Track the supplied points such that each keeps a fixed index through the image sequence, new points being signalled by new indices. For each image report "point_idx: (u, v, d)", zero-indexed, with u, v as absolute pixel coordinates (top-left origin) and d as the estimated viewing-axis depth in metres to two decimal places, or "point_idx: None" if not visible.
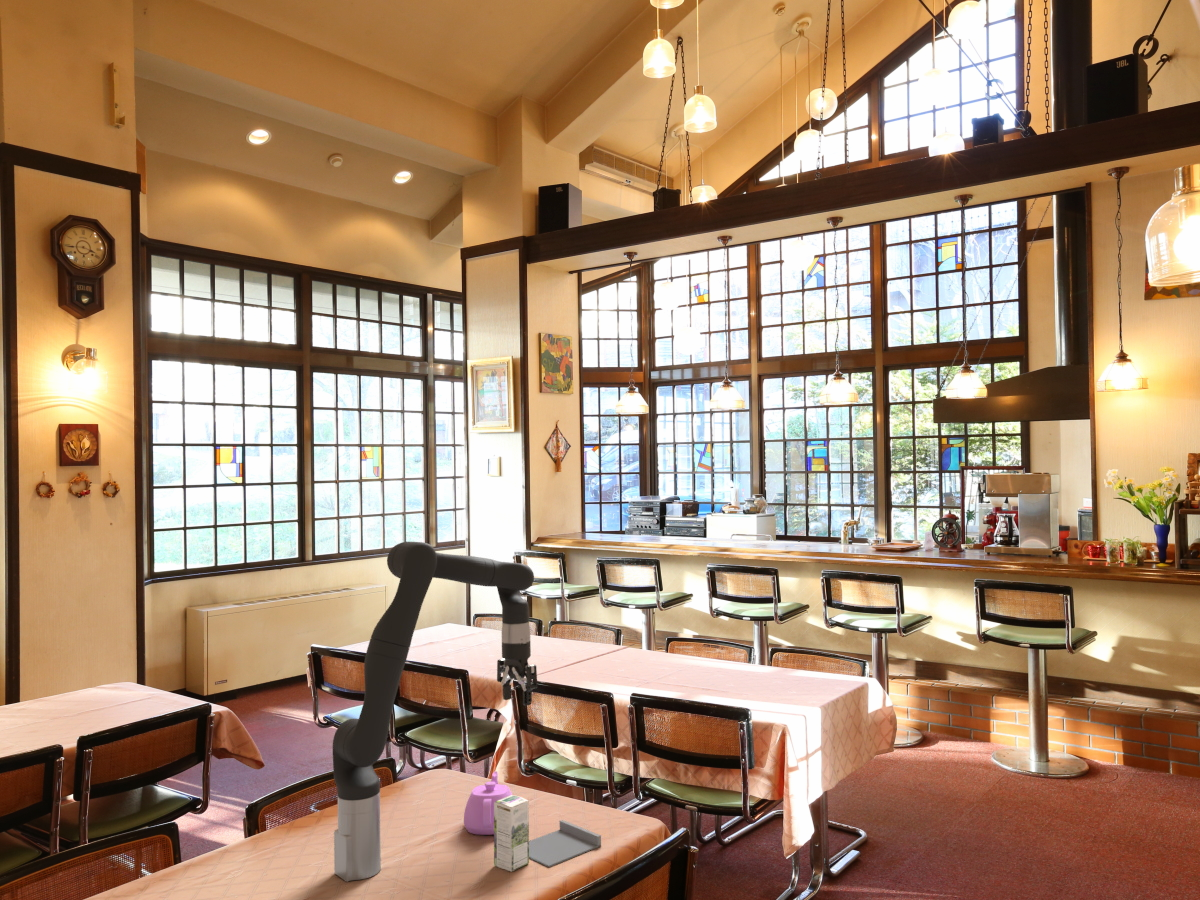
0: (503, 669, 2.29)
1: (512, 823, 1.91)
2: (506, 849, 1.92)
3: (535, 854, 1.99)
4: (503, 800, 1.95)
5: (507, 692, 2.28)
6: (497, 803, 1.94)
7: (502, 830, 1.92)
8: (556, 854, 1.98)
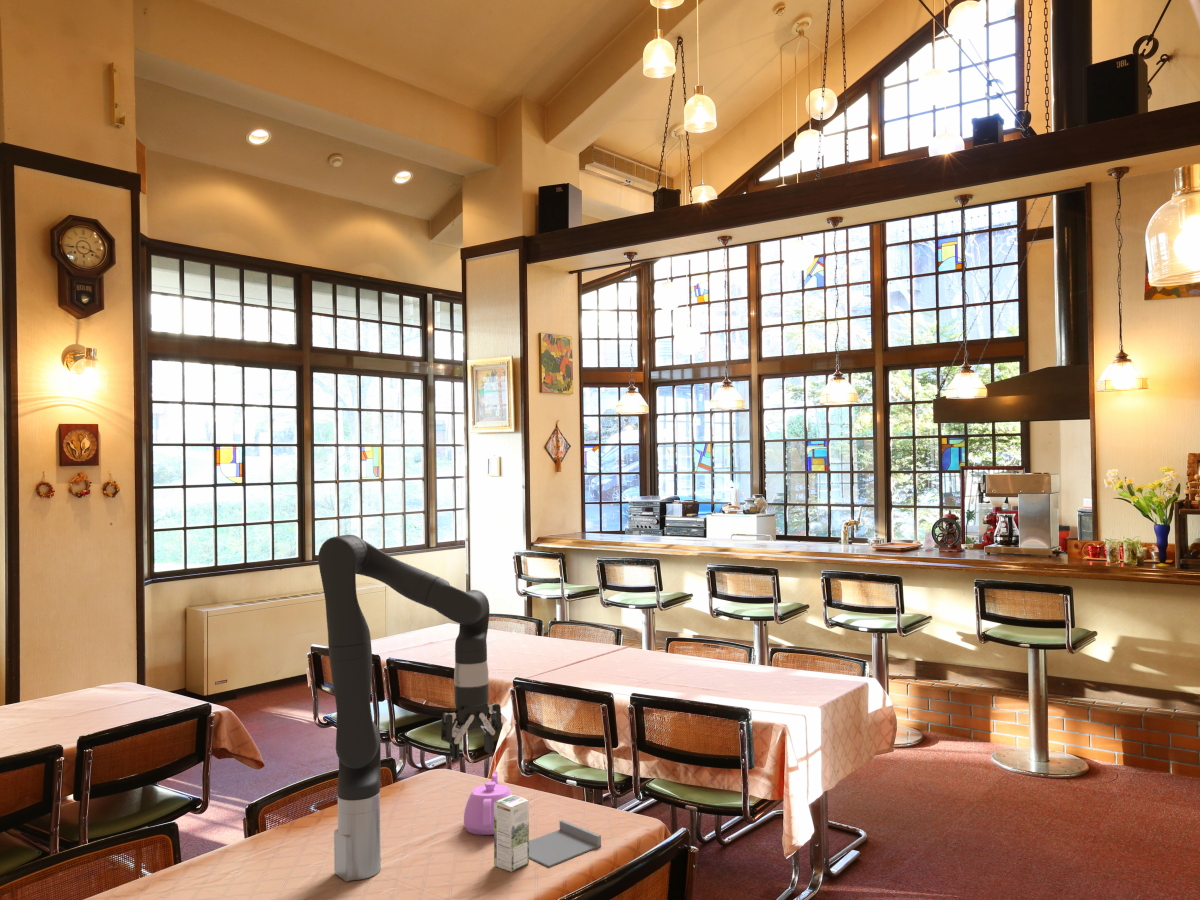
0: None
1: (512, 823, 1.91)
2: (506, 849, 1.92)
3: (535, 854, 1.99)
4: (503, 800, 1.95)
5: None
6: (497, 803, 1.94)
7: (502, 830, 1.92)
8: (556, 854, 1.98)
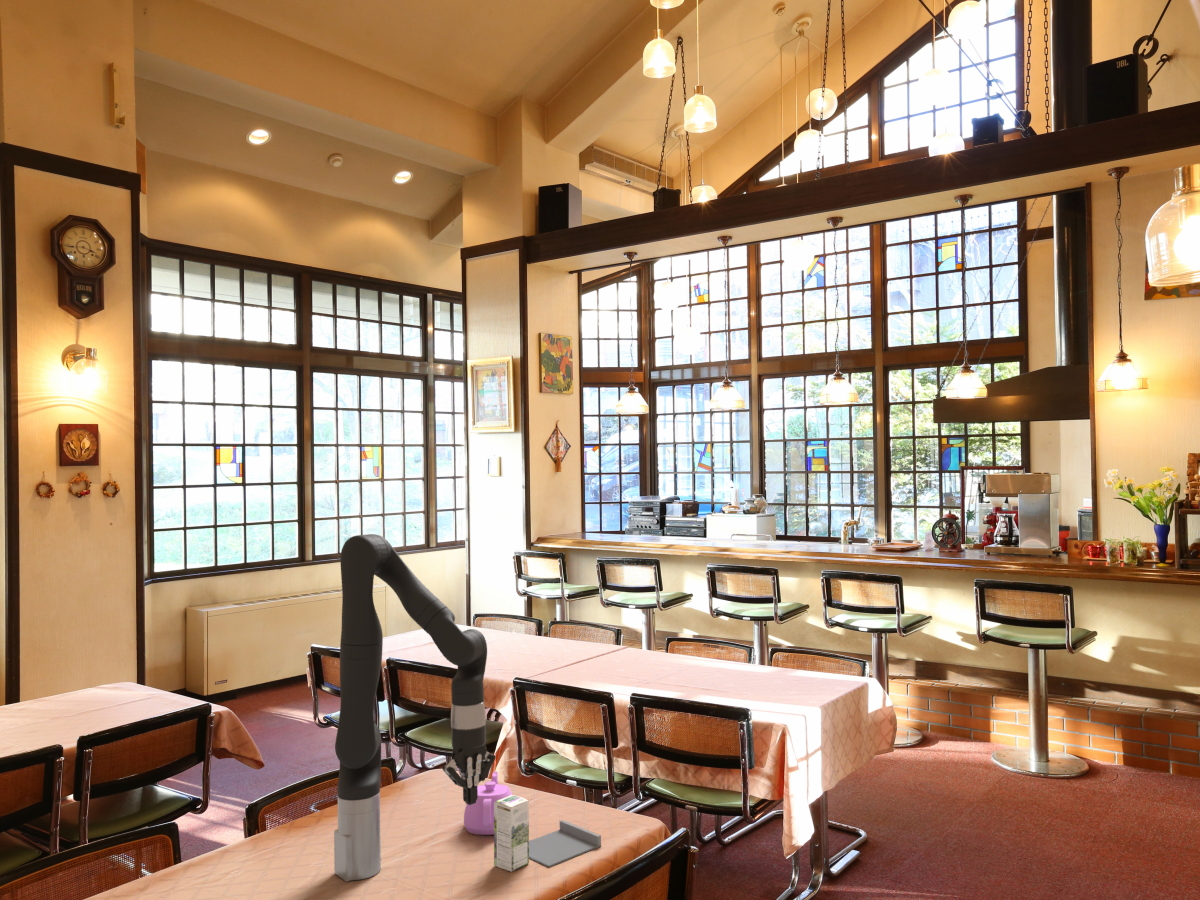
0: None
1: (512, 823, 1.91)
2: (506, 849, 1.92)
3: (535, 854, 1.99)
4: (503, 800, 1.95)
5: None
6: (497, 803, 1.94)
7: (502, 830, 1.92)
8: (556, 854, 1.98)
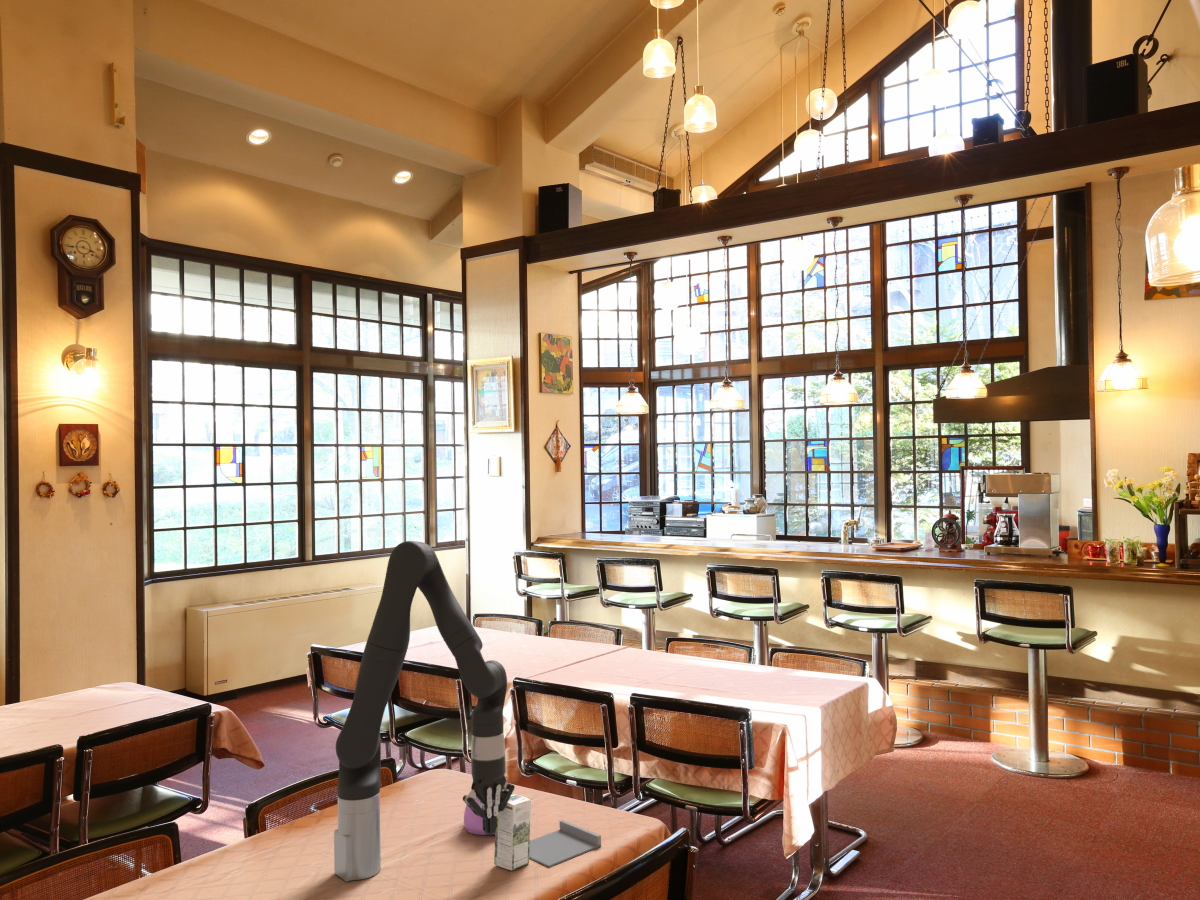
0: None
1: (514, 821, 1.92)
2: (507, 848, 1.92)
3: (535, 854, 1.99)
4: None
5: None
6: None
7: (504, 829, 1.93)
8: (556, 854, 1.98)
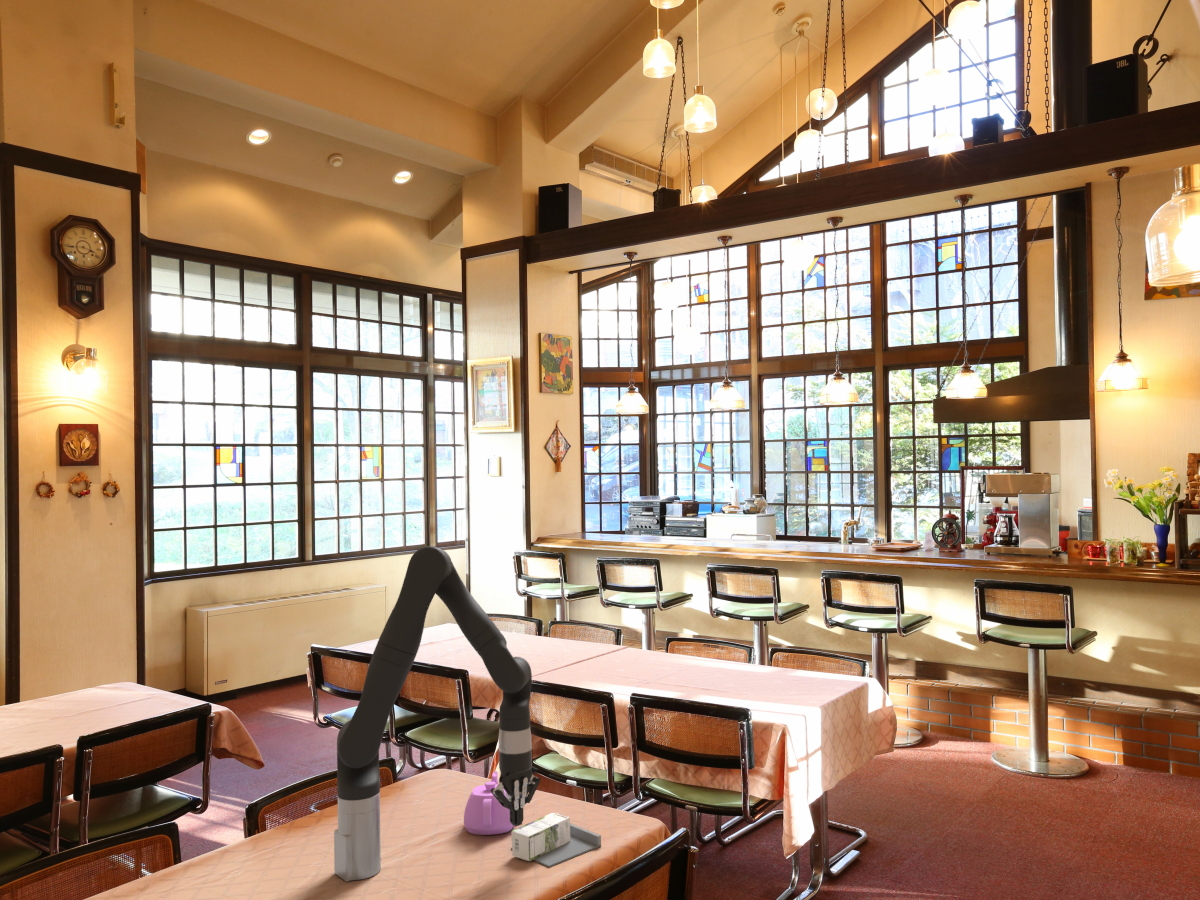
0: None
1: (559, 824, 2.03)
2: (537, 828, 2.00)
3: None
4: None
5: None
6: (556, 813, 2.09)
7: (545, 822, 2.03)
8: (556, 854, 1.98)
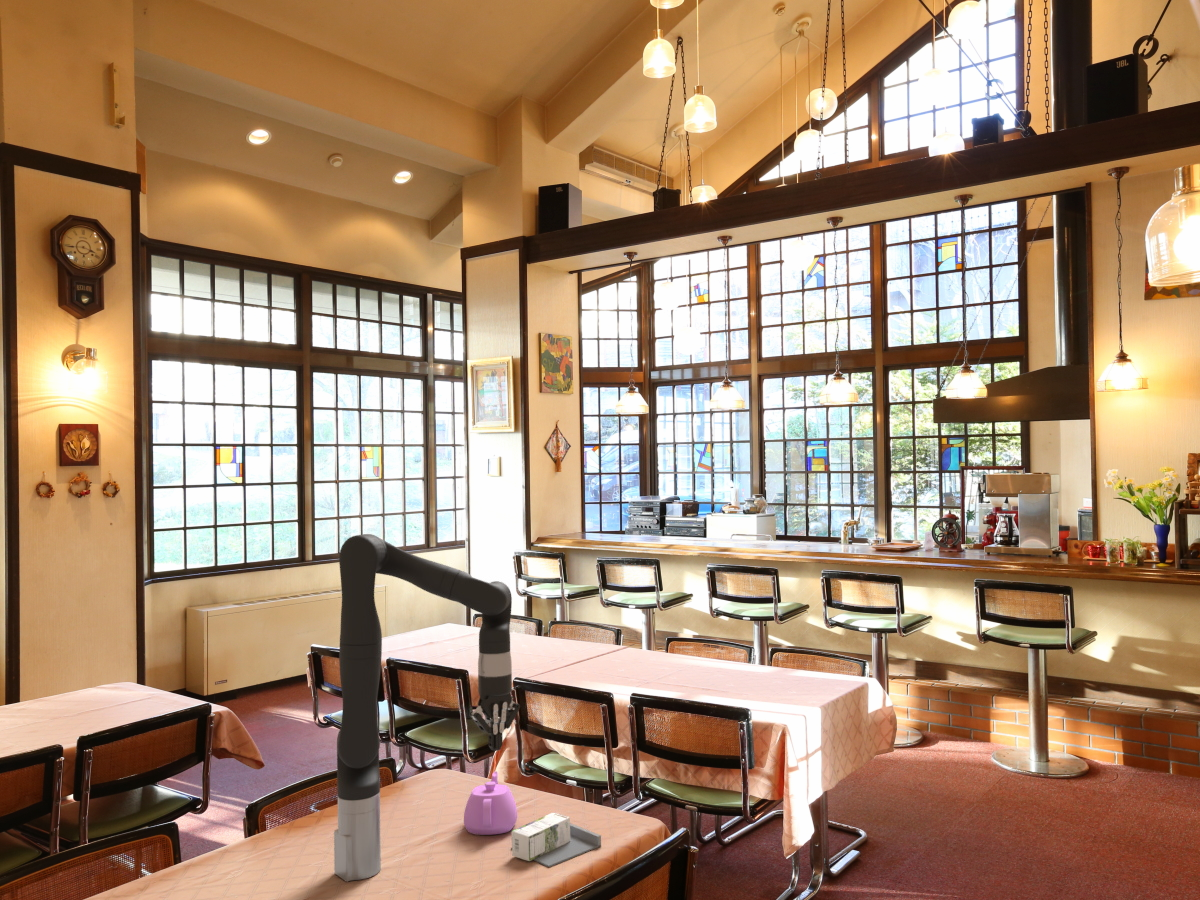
0: None
1: (559, 824, 2.03)
2: (537, 828, 2.00)
3: None
4: None
5: None
6: (556, 813, 2.09)
7: (545, 822, 2.03)
8: (556, 854, 1.98)
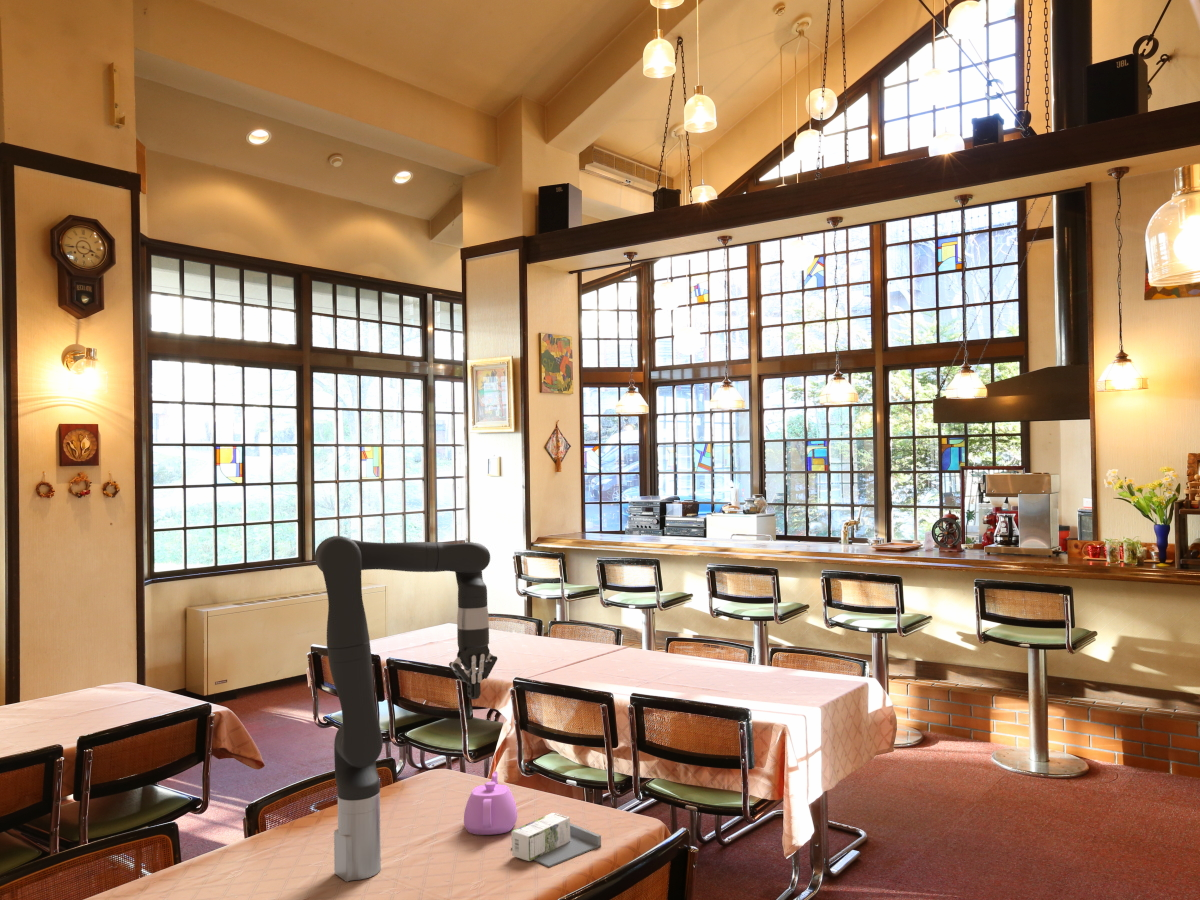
0: None
1: (559, 824, 2.03)
2: (537, 828, 2.00)
3: None
4: None
5: None
6: (556, 813, 2.09)
7: (545, 822, 2.03)
8: (556, 854, 1.98)
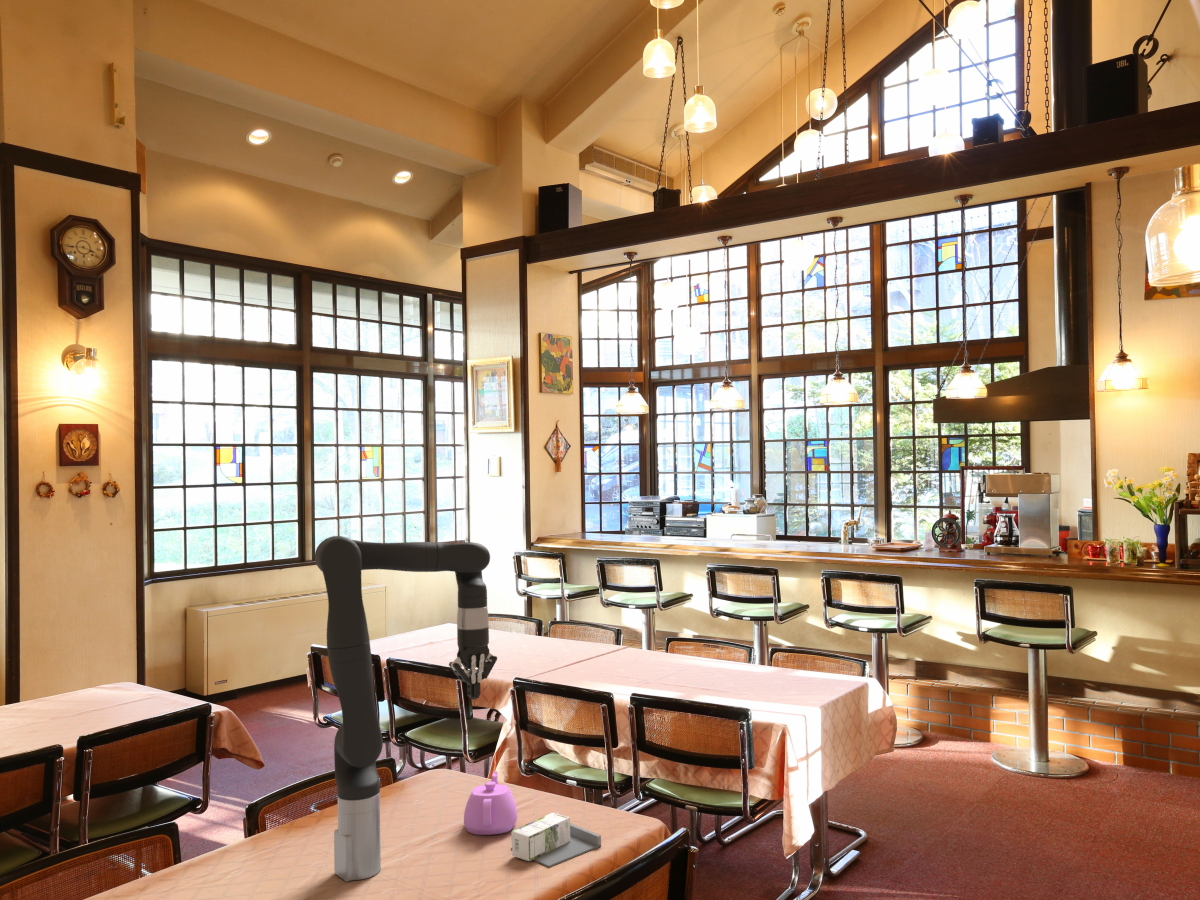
0: None
1: (559, 824, 2.03)
2: (537, 828, 2.00)
3: None
4: None
5: None
6: (556, 813, 2.09)
7: (545, 822, 2.03)
8: (556, 854, 1.98)
